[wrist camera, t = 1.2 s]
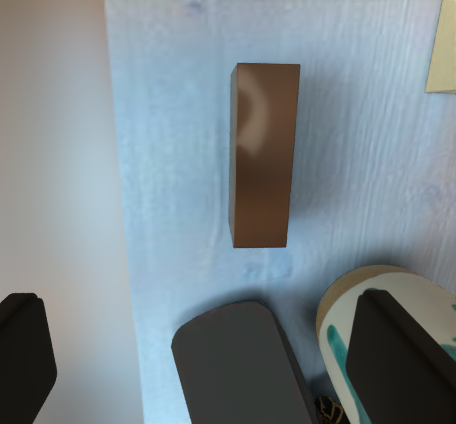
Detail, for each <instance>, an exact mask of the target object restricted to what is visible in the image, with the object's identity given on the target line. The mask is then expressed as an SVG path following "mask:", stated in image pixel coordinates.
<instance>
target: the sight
mask: <svg viewBox="0 0 456 424" xmlns="http://www.w3.org/2000/svg"><path fill="white" fill-rule="evenodd" d="M171 349H172V352H173V356H174V360H175V364H176V367H177V371H178V375H179V378H180V382H181V386H182V389H183V393H184V397H185V400H186V404H187V408H188V411H189V415H190V419H191V422H192V424H323V421H322V419H321V416H320V413H319V411H318V408H317V405H315V403H314V400H313V397H312V395H311V392H310V390H309V388H308V386H307V384H306V381H305V379H304V376H303V374H302V372H301V369H300V367H299V365H298V362H297V360H296V357H295V355H294V353H293V350H292V348H291V346H290V343H289V341H288V339H287V336H286V334H285V332H284V330H283V328H282V326H281V325H280V323H279V321H278V320H277V318H276V316H275V315H274V313H273V312H272V311H271V310H270V309H269V308H268V306H266V305H265V304H264V303H262V302H260V301H257V300H249V301H241V302H235V303H232V304H228V305H225V306H222V307H219V308H216V309H213V310H211V311H209V312H206V313H204V314H201V315H199V316H197V317H195V318H193V319H192V320H190V321H189V322H187V323H185V324H184V325H182V326H181V327H180V328H179V329H178V330H177V332H176V333H175V335H174V337H173V340H172V344H171Z"/></svg>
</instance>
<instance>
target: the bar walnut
mask: <svg viewBox="0 0 456 424" xmlns="http://www.w3.org/2000/svg"><path fill="white" fill-rule="evenodd" d="M299 77H300V64H267V63H237V65H236V67H235V68H234V70H233V72H232V73H231V98H230V166H229V226H230V232H231V237H232V242H233V247H234V248H282V247H286V244H287V231H288V218H289V205H290V192H291V180H292V167H293V154H294V141H295V128H296V116H297V103H298V90H299Z"/></svg>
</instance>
